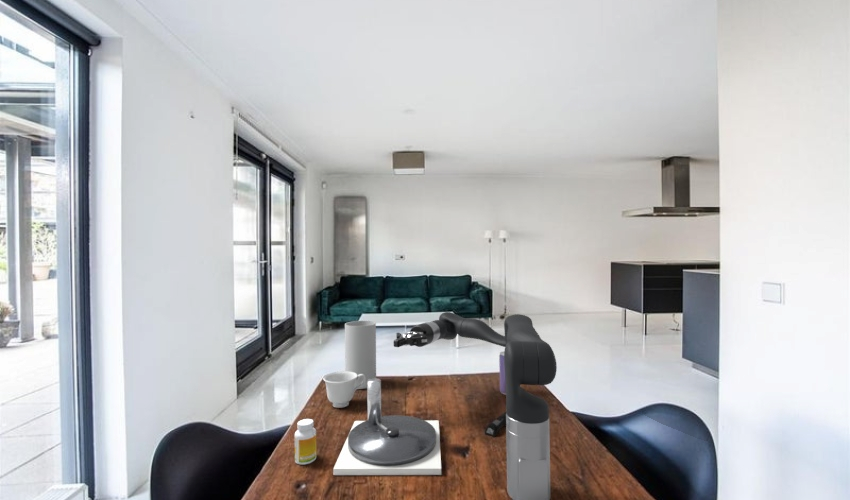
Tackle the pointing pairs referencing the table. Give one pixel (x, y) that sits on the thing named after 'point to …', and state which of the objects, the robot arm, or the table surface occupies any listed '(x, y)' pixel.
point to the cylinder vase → (361, 350)
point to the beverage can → (502, 373)
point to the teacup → (342, 387)
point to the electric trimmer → (496, 425)
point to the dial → (389, 435)
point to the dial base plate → (420, 467)
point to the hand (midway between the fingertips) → (395, 343)
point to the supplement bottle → (305, 442)
